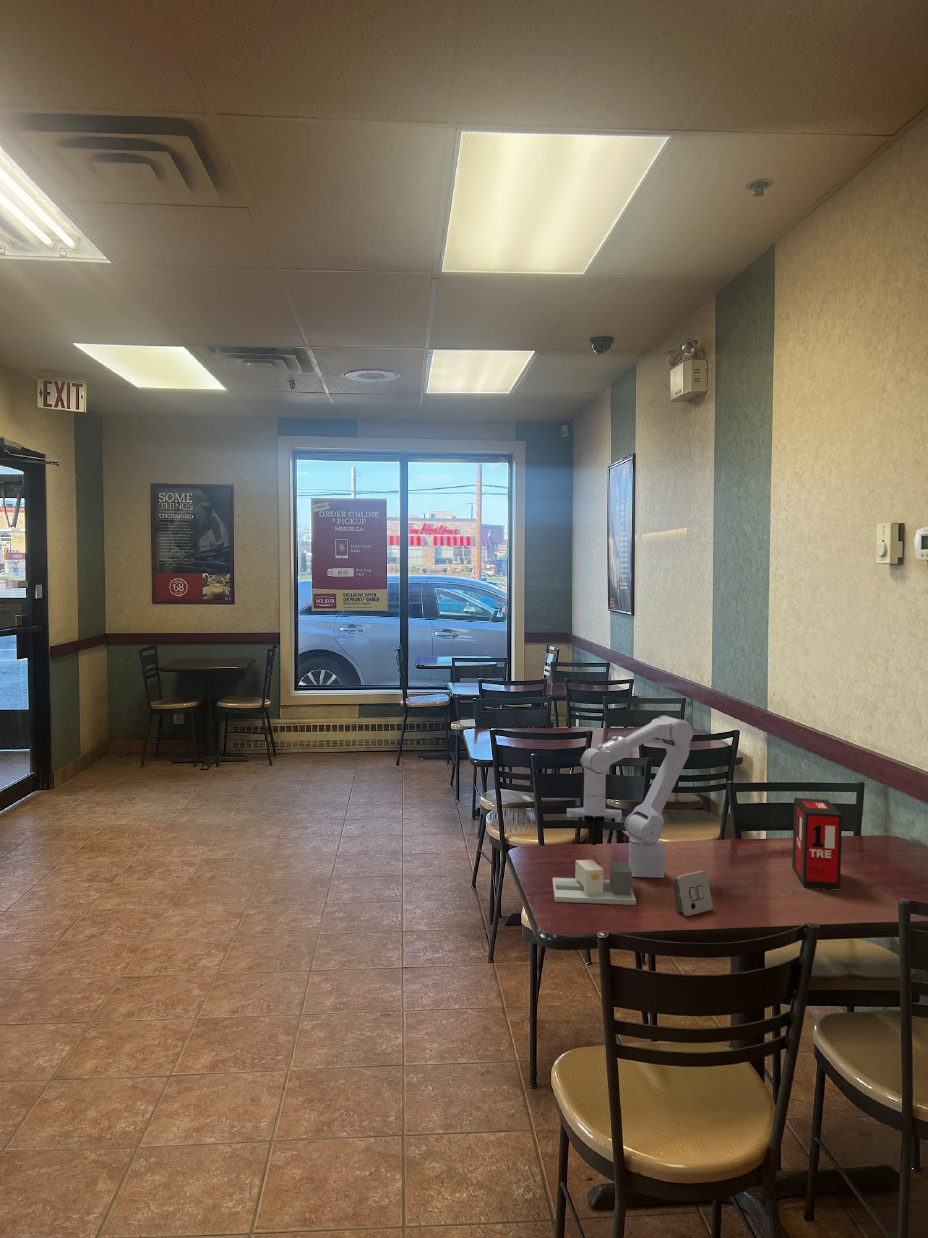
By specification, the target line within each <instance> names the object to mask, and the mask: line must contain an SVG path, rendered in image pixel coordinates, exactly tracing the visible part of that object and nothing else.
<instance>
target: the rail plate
mask: <svg viewBox="0 0 928 1238" xmlns="http://www.w3.org/2000/svg"><path fill="white" fill-rule="evenodd" d="M632 881H633V877H632V871H631V868H630V866H629V861H626V860H625V861H622V860H621V861H620V860H617V861H616V860H610V861H609V879H603V893H595V894H585V893H584V886H583V885H582V884H581V883H580V882H575V878H574V877H573V878H572V877H552V880H551V883H552V888H553V889H552V890H553V898H554V899H553V900H554V902H556V903H558V902H559V903H577V904H579V903H581V904H582V903H583V904H604V905H605V904H606V905H607V904H609V905H630V906H637V899H636V896H635V894H634V890H633V888H632V887H633V886H632V884H633V883H632Z"/></svg>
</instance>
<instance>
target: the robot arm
mask: <svg viewBox="0 0 928 1238" xmlns="http://www.w3.org/2000/svg"><path fill="white" fill-rule="evenodd" d="M693 736H694V731H693V729H692V726H691V724H690V723H689V722H688V721H687V720H684V719H678V718H674V717H671V716H668V715H660V716H659V717H657V718H653V719H652V720H651V721H650V723H647V724H646V725H644V726H642V727H641V728H639V729H637V730H635V732H633V733H631V734H629V735H627V736H626V737H623V736H620V735H619V736H617V735H614V736H612V737H611V739H610V740H609V741H606V742H604V743H603V744H601V743H600V744H598V745H597V746H596V748H595V747H594V748H592V747H591V748H590V747H589V748H587V749H586V750H585V751H584V752H583V753H582V756H581V757H580V759H579V761H580V764H581V766H582V767H583V774H584V775H583V779H584V780H583V807H574V808H573V807H571V808H569V807H568V808H566V817H567V818H573V817H574V818H575V817H576V818H583V819H584V823H585V825H586V827H587V830H588V833H589V840H590V845H591V846H597V844H598V843H597V842H598V838H599V835H600V832H601V830H602V829H603V826H604V824H605V822H606V821H605V819H618V820H622V818H623V817H622V816H623V815H622V814H623V812H622V810H621V809H611V808H606V779H607V778H606V777H607V776H606V774H607V772H608V770H609V769H610V766H611V765H613V764H614V763H616V762H618V761H620V760H623V759H625V758H627V757H629V756H630V754H631V751H632V749H634V748H636V747H639V746H641V745H643V744H645V743H648V742H650V741H652V740H655V739H659V740H660V742H662V743H663V745H664V748H665V750H666V755H665V757H664V759H663V761H662V763H661V765H660V767H659V769H658V771H657V773H656V775H655V778H654V779H653V781H652V783H651V786H650V788H649V790H648V792H647V794H646V796H645V798H644V800H643V802H642V803H641V804H638V805H637V806H635V807H634V809H633V811H632V812H631V813H630V814H629V815H628V816H627V817H626V819H625V821H624V829H625V830H626V833H628V838H629V842H628V843H629V844H628V864H629V866H630V868H631V871H632V878H634V877H635V878H654V879H655V878H656V879H657V878H660V879H664V878H665V845H664V842H663V841H659V840H660V838H661V836H662V828H663V825H664V823H665V820H664V817H663V814H662V812H663V810H664V807H665V805H666V803H667V801H668V800H669V798H670V795H671V794H672V791H673V789H674V787H675V785H676V784H677V783H676V782H677V781H678V779H679V777H680V775H681V773H682V771H683V768H684V766H685V764H686V762H687V760H688V758H689V757H690V756H689V755H690V746H691V741H692V739H693V738H694V737H693Z"/></svg>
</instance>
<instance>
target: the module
mask: <svg viewBox="0 0 928 1238" xmlns="http://www.w3.org/2000/svg"><path fill="white" fill-rule="evenodd" d="M574 870H575V871H574V872H575V874H574V876H575V882H580V883H581V884H582V885H583V886H584V893H585V894H595V893H603V880H604V868H603V867H602V866H600V865H599V864H598V863H596V862H595V861H594V860H593V859H591V858H590V859H578V860H577V859H575V869H574Z"/></svg>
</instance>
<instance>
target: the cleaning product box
mask: <svg viewBox="0 0 928 1238" xmlns="http://www.w3.org/2000/svg"><path fill="white" fill-rule="evenodd" d="M793 799H794V800H793V826H792V827H793V831H792V858H791V859H792V860H791V861H792V862H791V867H792V870H793V871H794V874H795V875H796V876H798V877H797V878H798V880H799V882H800V883H801V885H802V887H803V888H805V889H815V888H820V889H819V890H827V889H840V890H841V871H842V870H841V866H842V865H841V863H842V840H843V839H842V838H843V837H842V836H843V835H842V834H843V833H842V832H843V814H842V813H841V812H840V811H839V810H838V809H837V808H836V807H835V805H834V804H832V802H830V801H829V800H828V799H820V798H819V799H818V798H805V797H804V798H802V797H794V798H793ZM823 888H824V889H823ZM825 888H826V889H825Z"/></svg>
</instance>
